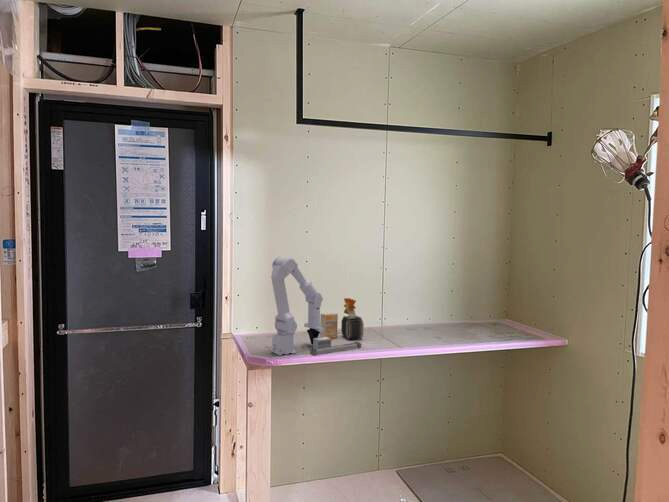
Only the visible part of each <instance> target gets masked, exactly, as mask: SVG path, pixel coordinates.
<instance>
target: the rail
mask: <svg viewBox="0 0 669 502" xmlns="http://www.w3.org/2000/svg"><path fill="white" fill-rule="evenodd" d="M355 349H362V343H361V342H357V341H354V342H351V343H345V344H337V345H331V346H330V347H323V348H317V349H313V347H312V348H309V353H311V354H310V355H312V354H313V355H312V356H317V355H324V354H331V353H336V352H343V351H349V350H355Z"/></svg>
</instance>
